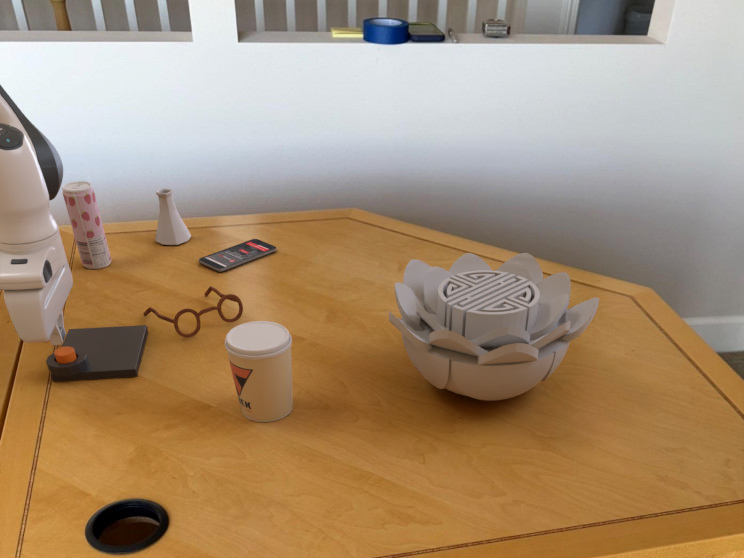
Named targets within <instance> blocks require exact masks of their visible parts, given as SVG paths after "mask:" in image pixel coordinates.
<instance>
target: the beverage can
mask: <svg viewBox="0 0 744 558" xmlns="http://www.w3.org/2000/svg"><path fill="white" fill-rule="evenodd" d="M61 190H62V196H63V200H64V204H65V207H66V211H67V215H68V219H69V222H70V226H71V229H72V232H73V237H74V240H75V243H76V247H77V251H78V254H79V258H80V262H81V265H82V266H83V267H85V268H86V269H89V270H100V269H103V268H106V267H108V266H110V264H111V263H112V256H111V252H110V248H109V245H108V240H107V237H106V233H105V229H104V225H103V221H102V217H101V212H100V209H99V204H98V201H97V197H96V193H95V189H94V187H93V185H92V183H90V182H88V181H83V180H82V181H81V180H79V181H77V180H76V181H70V182H67V183H65V184H63V185H62V186H61Z"/></svg>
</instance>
